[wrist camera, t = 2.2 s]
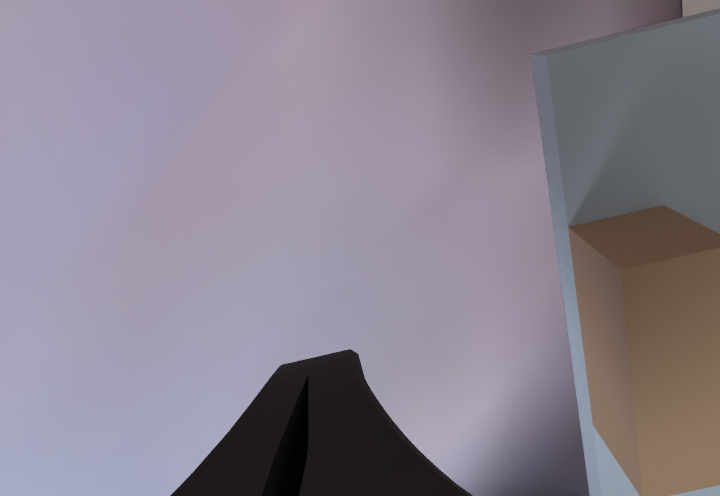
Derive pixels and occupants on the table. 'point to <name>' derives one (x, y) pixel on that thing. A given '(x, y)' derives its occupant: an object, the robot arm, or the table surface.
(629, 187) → the lid
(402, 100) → the table surface
